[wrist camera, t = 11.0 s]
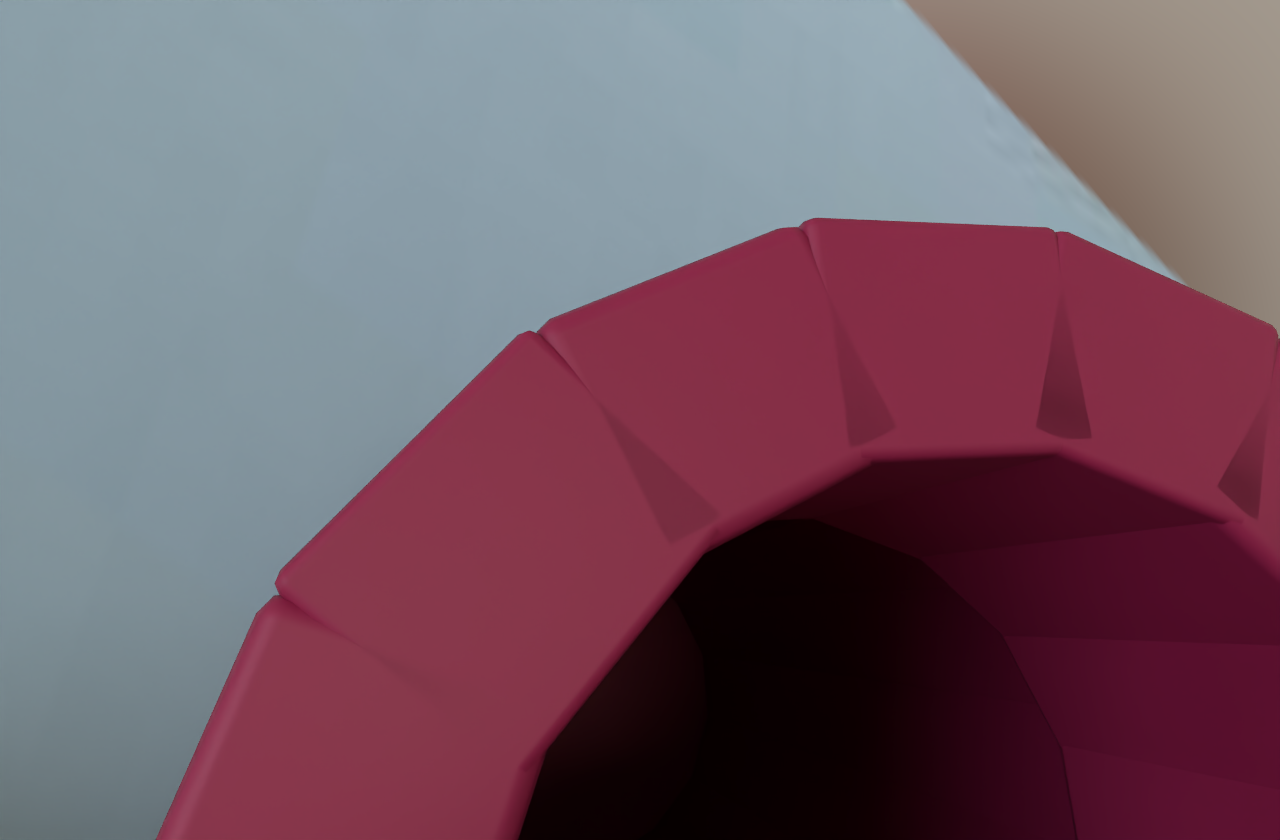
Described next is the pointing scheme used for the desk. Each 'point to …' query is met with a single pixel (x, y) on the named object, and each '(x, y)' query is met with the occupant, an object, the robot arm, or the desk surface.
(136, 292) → the desk surface
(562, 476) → the crimson hollow cylinder
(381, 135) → the desk surface
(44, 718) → the desk surface
